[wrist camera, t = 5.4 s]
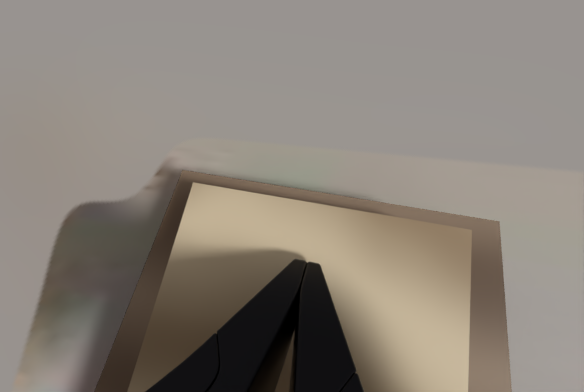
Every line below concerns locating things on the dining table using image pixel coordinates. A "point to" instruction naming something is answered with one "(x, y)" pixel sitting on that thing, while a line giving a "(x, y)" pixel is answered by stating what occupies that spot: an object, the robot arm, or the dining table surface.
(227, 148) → the dining table surface
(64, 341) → the dining table surface
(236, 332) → the robot arm
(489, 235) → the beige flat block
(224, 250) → the oak plank
